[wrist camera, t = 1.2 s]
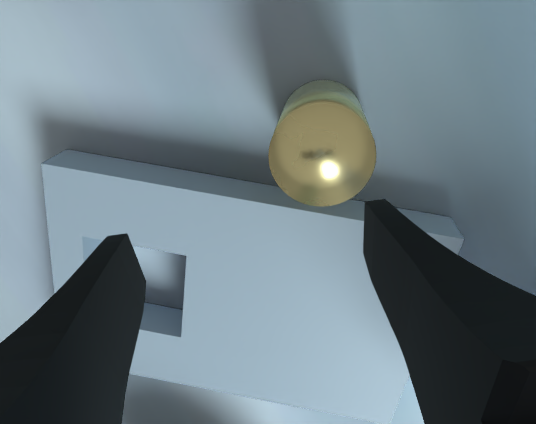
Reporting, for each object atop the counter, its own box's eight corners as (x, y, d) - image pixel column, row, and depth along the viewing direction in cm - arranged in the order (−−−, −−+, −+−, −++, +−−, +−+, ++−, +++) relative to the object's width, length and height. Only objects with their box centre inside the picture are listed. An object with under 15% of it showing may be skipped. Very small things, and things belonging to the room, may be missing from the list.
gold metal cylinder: (372, 87, 21) (388, 114, 16) (352, 166, 23) (361, 214, 18) (288, 73, 21) (276, 95, 16) (276, 153, 23) (261, 196, 18)
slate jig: (450, 217, 24) (464, 239, 21) (384, 394, 30) (389, 425, 27) (67, 149, 24) (41, 163, 22) (80, 334, 31) (61, 360, 28)
